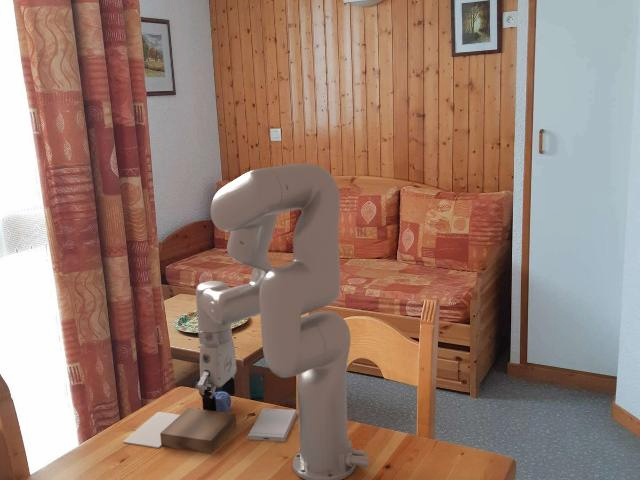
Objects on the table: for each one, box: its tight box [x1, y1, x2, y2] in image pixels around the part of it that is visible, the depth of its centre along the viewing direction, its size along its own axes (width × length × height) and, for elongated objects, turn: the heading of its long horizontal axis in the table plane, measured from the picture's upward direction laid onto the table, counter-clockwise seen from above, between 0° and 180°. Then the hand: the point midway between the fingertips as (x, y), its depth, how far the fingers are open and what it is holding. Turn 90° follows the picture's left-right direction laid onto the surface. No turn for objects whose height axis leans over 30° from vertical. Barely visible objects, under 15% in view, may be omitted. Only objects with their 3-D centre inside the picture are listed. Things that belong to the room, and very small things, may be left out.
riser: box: [160, 407, 238, 455], centre depth 140 cm, size 12×12×3 cm
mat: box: [122, 411, 181, 449], centre depth 144 cm, size 9×14×1 cm, turn 162°
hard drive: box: [247, 408, 298, 443], centre depth 144 cm, size 2×8×12 cm
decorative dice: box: [214, 391, 232, 413], centre depth 152 cm, size 4×4×4 cm
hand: (219, 402), depth 152 cm, fingers open, 9 cm apart
